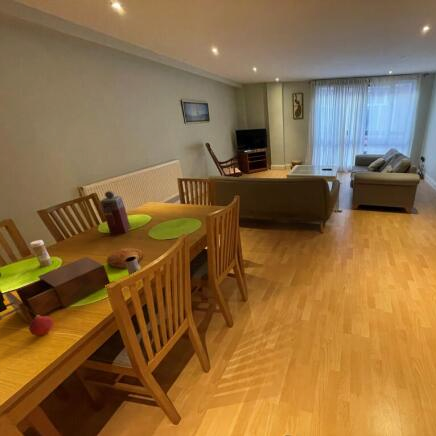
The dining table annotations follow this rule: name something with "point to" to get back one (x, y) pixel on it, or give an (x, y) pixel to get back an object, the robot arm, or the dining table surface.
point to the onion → (41, 325)
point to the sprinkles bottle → (41, 253)
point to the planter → (131, 265)
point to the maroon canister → (115, 213)
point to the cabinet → (76, 280)
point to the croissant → (123, 257)
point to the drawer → (33, 300)
